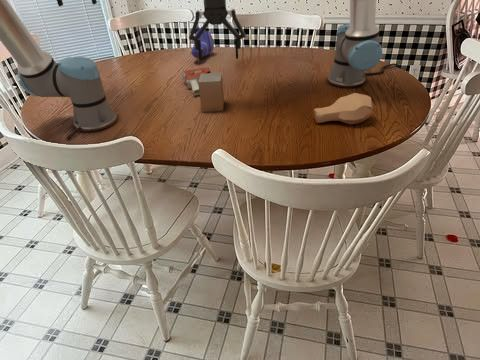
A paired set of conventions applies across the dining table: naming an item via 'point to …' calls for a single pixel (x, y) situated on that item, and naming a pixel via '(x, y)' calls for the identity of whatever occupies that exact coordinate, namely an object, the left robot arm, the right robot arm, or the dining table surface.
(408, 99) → the dining table surface
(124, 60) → the dining table surface
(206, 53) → the toy
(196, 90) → the tape dispenser
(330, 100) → the dining table surface
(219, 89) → the block
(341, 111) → the squash
